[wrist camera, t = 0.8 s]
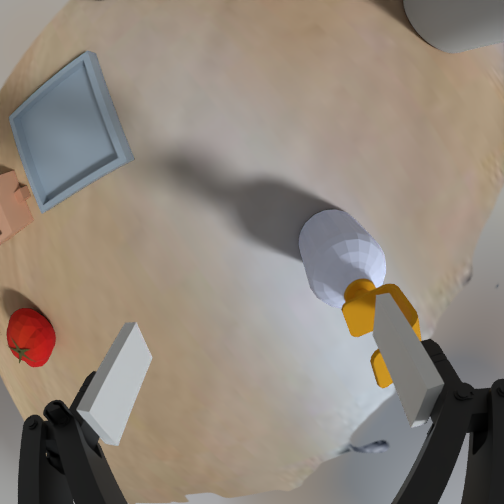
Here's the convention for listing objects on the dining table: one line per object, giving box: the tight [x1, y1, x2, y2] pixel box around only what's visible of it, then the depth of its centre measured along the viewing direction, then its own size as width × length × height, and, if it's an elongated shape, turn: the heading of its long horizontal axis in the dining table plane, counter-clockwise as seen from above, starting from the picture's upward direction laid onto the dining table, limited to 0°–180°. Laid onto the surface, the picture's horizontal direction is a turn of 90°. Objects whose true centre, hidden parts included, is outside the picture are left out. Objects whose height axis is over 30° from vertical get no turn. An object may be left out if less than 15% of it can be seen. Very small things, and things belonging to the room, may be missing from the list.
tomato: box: [7, 308, 56, 367], centre depth 45 cm, size 11×13×10 cm
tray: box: [9, 51, 134, 213], centre depth 34 cm, size 18×18×2 cm
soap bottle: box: [298, 209, 421, 388], centre depth 29 cm, size 9×9×25 cm
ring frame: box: [0, 170, 34, 245], centre depth 36 cm, size 10×12×6 cm
